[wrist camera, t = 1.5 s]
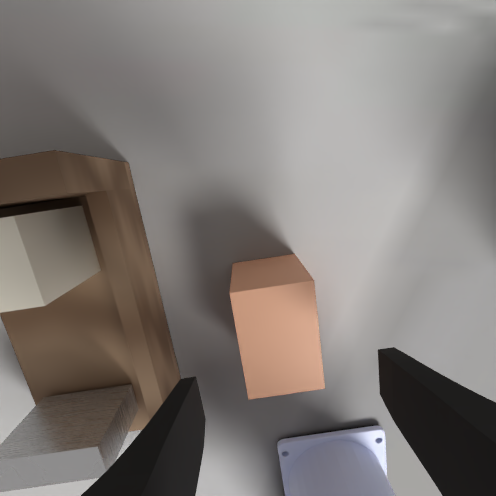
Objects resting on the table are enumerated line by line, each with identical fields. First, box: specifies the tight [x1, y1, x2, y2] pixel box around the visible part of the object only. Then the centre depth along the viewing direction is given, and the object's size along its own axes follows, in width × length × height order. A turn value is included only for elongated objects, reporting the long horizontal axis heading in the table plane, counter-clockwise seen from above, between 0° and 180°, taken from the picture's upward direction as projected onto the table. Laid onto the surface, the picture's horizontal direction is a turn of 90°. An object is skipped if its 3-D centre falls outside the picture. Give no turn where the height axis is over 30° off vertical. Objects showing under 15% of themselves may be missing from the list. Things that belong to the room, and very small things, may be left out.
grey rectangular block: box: [0, 384, 138, 492], centre depth 17 cm, size 2×6×4 cm, turn 98°
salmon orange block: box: [230, 254, 325, 400], centre depth 16 cm, size 4×6×5 cm, turn 9°
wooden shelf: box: [0, 150, 181, 431], centre depth 15 cm, size 18×10×7 cm, turn 9°
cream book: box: [0, 206, 101, 313], centre depth 14 cm, size 4×6×5 cm, turn 99°
